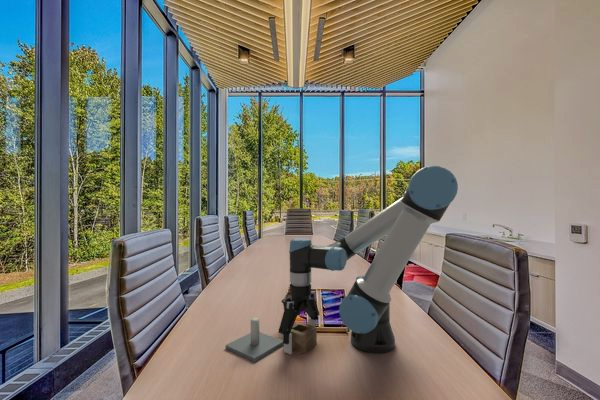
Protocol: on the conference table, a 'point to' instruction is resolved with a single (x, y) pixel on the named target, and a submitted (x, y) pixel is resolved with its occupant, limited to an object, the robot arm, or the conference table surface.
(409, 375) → the conference table surface
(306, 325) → the collar
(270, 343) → the post stand
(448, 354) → the conference table surface
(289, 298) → the sundae
